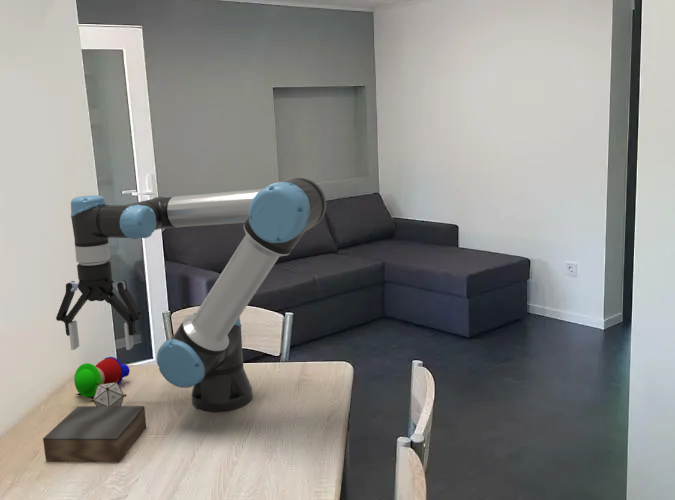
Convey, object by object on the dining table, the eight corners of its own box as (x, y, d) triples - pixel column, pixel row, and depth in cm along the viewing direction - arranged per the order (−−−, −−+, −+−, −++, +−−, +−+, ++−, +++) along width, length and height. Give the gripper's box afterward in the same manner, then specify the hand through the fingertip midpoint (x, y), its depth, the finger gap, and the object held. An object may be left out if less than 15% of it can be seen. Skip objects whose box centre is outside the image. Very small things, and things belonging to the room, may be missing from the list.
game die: (115, 429, 165) (112, 409, 158) (84, 416, 166) (80, 395, 159) (135, 400, 171) (133, 379, 164) (105, 387, 172) (102, 366, 165)
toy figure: (108, 388, 188) (66, 400, 174) (106, 354, 188) (64, 363, 174) (134, 389, 184) (93, 401, 170) (132, 355, 184) (91, 364, 170)
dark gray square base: (146, 427, 157) (144, 406, 156) (119, 462, 141) (116, 438, 140) (80, 427, 158) (77, 406, 157) (46, 462, 143) (42, 438, 142)
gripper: (151, 257, 161) (158, 342, 165) (50, 259, 163) (60, 343, 167) (139, 264, 154) (147, 353, 158) (34, 266, 156) (45, 353, 160)
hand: (102, 348), depth 163 cm, fingers open, 13 cm apart
